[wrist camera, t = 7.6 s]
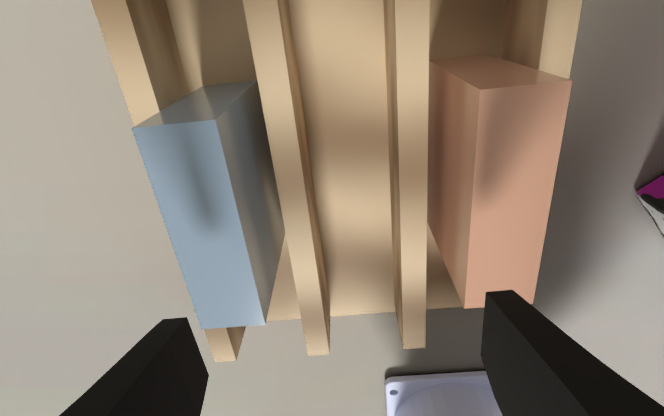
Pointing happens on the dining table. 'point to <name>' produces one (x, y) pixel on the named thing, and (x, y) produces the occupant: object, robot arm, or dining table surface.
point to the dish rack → (335, 128)
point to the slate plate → (218, 199)
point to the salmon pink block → (492, 170)
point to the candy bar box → (654, 201)
